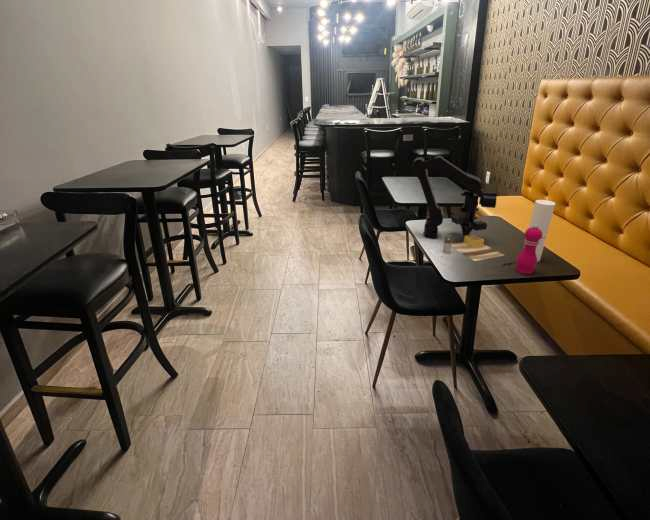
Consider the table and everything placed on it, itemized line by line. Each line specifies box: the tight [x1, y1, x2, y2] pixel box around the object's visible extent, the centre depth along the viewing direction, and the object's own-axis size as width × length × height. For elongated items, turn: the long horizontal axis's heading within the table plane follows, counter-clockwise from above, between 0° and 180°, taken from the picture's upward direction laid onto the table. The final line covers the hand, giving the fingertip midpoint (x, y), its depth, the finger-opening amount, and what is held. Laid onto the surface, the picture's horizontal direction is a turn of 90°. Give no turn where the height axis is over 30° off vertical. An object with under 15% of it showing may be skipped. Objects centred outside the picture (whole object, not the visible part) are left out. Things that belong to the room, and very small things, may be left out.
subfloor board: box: [451, 241, 505, 262], centre depth 171 cm, size 18×16×2 cm
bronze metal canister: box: [442, 235, 453, 254], centre depth 168 cm, size 3×3×8 cm
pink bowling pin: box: [515, 224, 542, 275], centre depth 152 cm, size 7×7×20 cm
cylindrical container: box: [523, 199, 556, 263], centre depth 162 cm, size 7×7×25 cm
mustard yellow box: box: [463, 233, 485, 248], centre depth 175 cm, size 7×5×4 cm
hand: (464, 237), depth 181 cm, fingers closed
